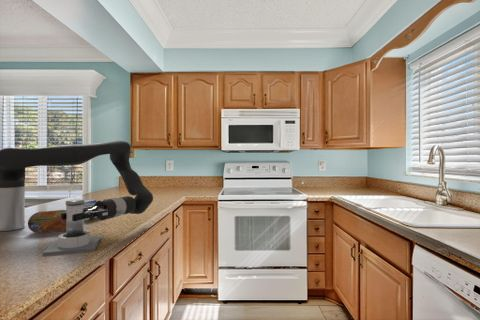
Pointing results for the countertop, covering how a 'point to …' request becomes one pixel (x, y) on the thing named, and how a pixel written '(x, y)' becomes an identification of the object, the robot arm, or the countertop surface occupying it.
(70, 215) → the silver metal canister
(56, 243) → the collar
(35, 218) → the tin
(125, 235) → the countertop surface
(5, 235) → the countertop surface
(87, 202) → the medicine box
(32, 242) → the countertop surface
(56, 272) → the countertop surface
